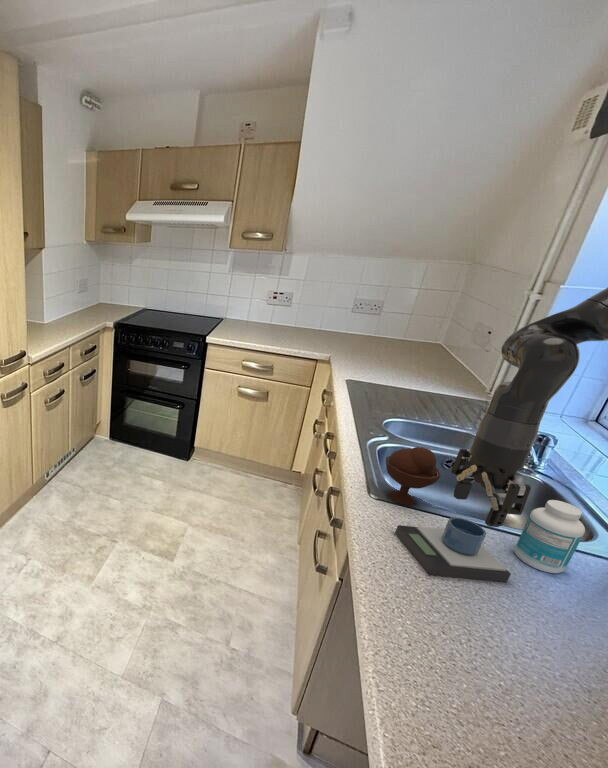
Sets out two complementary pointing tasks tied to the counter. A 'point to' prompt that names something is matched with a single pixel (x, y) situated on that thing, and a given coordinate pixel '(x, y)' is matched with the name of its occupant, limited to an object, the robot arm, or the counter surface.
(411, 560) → the counter surface
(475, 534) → the blue cup
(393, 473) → the ice cream bowl
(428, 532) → the kitchen scale
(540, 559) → the pill bottle
